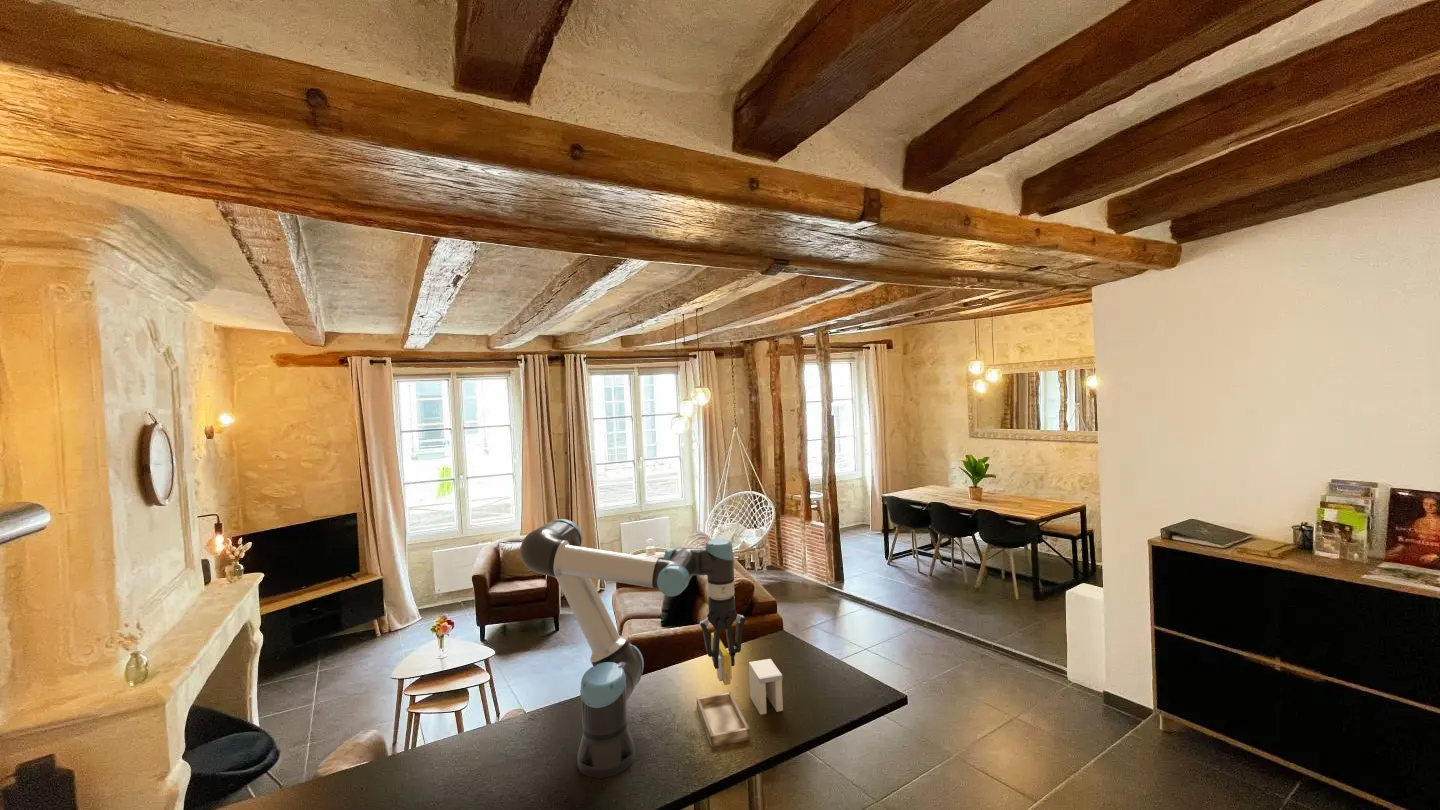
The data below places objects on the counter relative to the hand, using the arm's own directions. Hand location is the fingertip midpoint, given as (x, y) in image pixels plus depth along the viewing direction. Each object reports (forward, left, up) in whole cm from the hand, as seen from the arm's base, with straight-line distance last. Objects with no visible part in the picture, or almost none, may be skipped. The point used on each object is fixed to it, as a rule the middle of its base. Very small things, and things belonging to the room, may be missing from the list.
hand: (724, 677), depth 158 cm
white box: (+16, +10, -16) cm, 25 cm away
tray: (0, +5, -16) cm, 17 cm away
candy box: (0, +4, 0) cm, 4 cm away
